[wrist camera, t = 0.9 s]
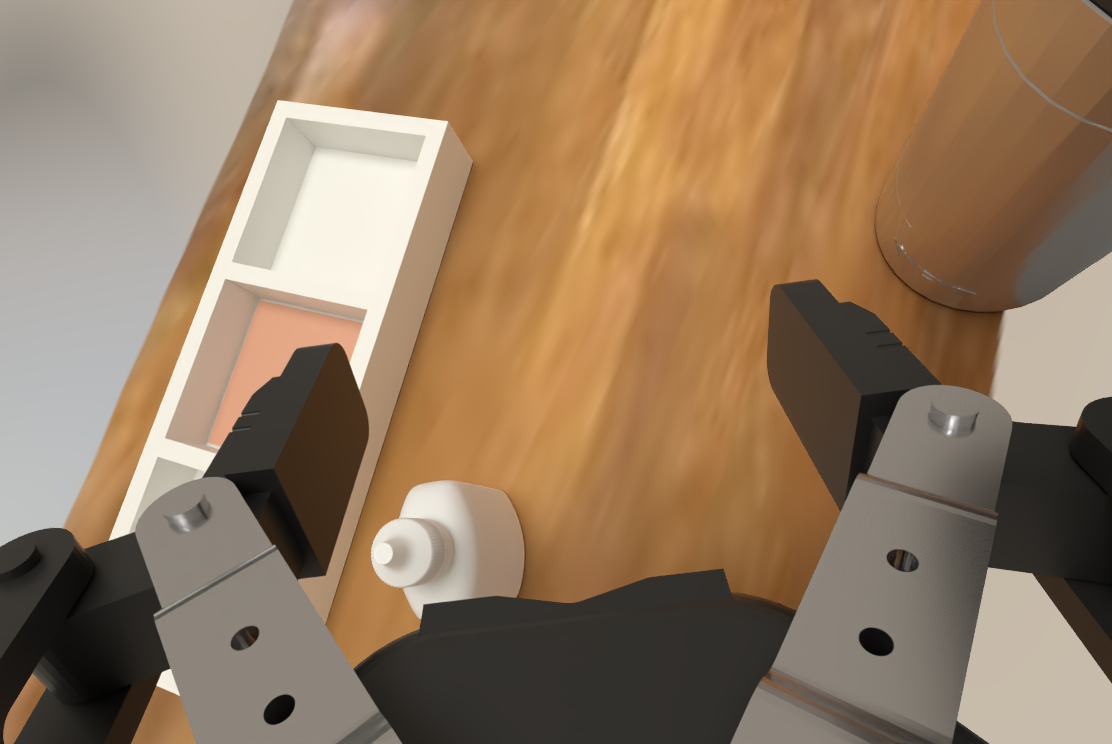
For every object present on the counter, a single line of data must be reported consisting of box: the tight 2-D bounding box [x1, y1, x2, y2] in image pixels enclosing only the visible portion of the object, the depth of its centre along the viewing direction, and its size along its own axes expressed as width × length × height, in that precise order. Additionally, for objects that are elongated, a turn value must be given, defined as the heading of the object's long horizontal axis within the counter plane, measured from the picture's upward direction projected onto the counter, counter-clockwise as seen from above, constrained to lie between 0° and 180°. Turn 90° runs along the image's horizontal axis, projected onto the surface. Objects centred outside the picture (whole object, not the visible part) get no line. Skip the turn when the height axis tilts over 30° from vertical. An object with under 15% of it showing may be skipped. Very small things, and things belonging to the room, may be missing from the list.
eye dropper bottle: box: [371, 480, 525, 619], centre depth 28 cm, size 4×6×12 cm
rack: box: [109, 100, 473, 696], centre depth 36 cm, size 31×11×4 cm, turn 165°
